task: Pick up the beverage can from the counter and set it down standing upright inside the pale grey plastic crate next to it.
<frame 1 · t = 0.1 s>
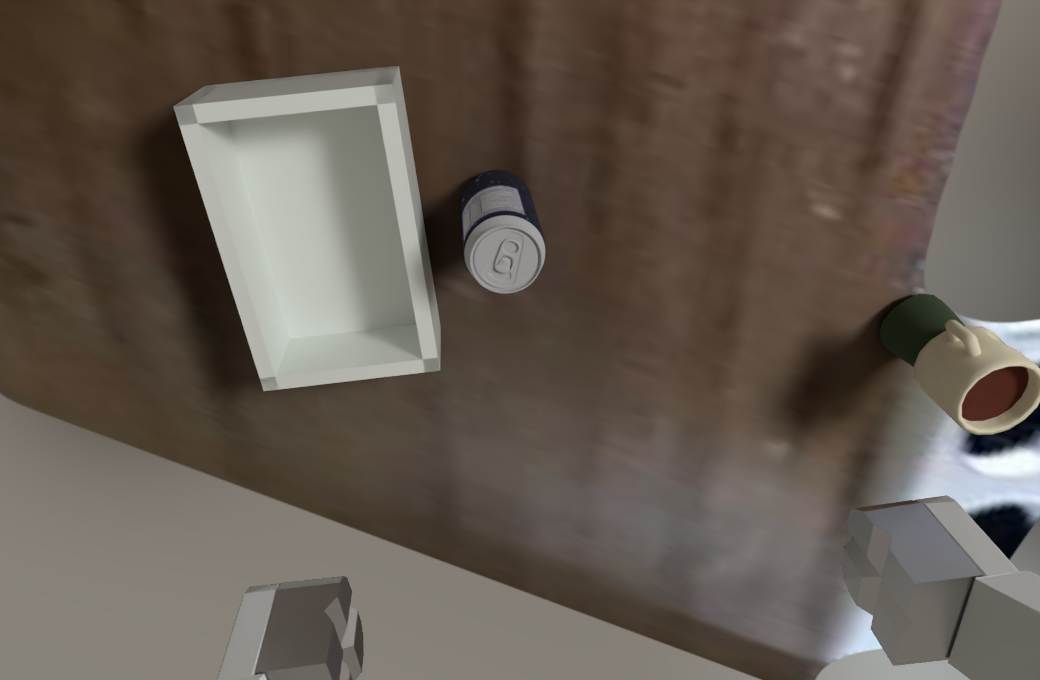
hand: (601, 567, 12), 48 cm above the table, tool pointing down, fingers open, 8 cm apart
beverage can: (495, 200, 58), on the table
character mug: (907, 319, 68), on the table
crate: (334, 219, 58), on the table
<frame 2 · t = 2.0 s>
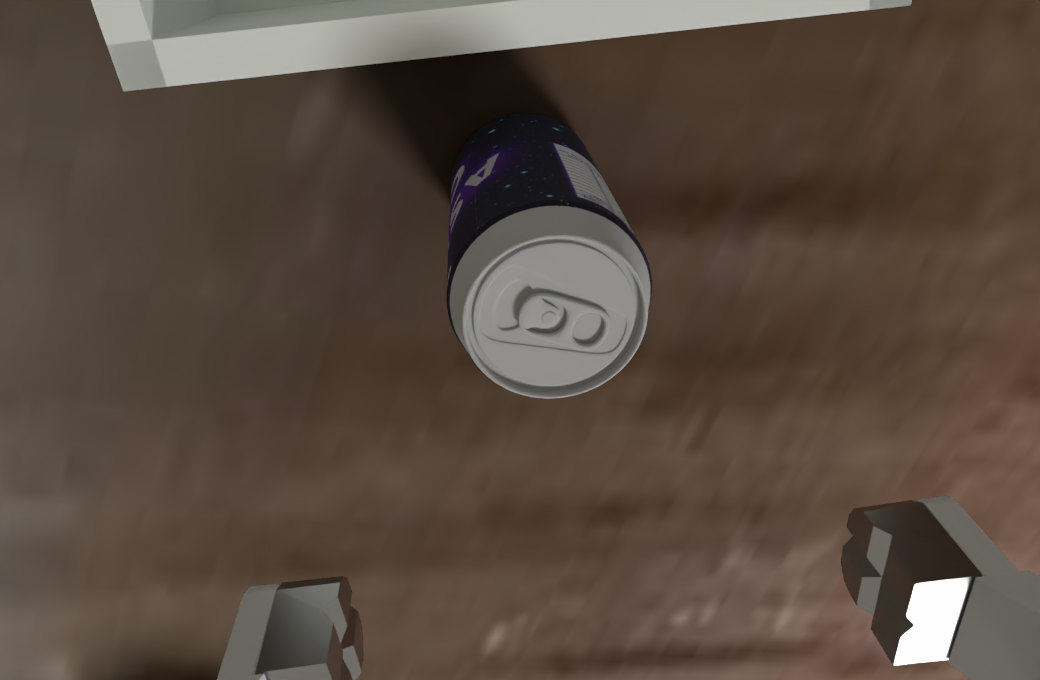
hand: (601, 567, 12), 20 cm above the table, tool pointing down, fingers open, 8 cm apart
beverage can: (521, 178, 29), on the table
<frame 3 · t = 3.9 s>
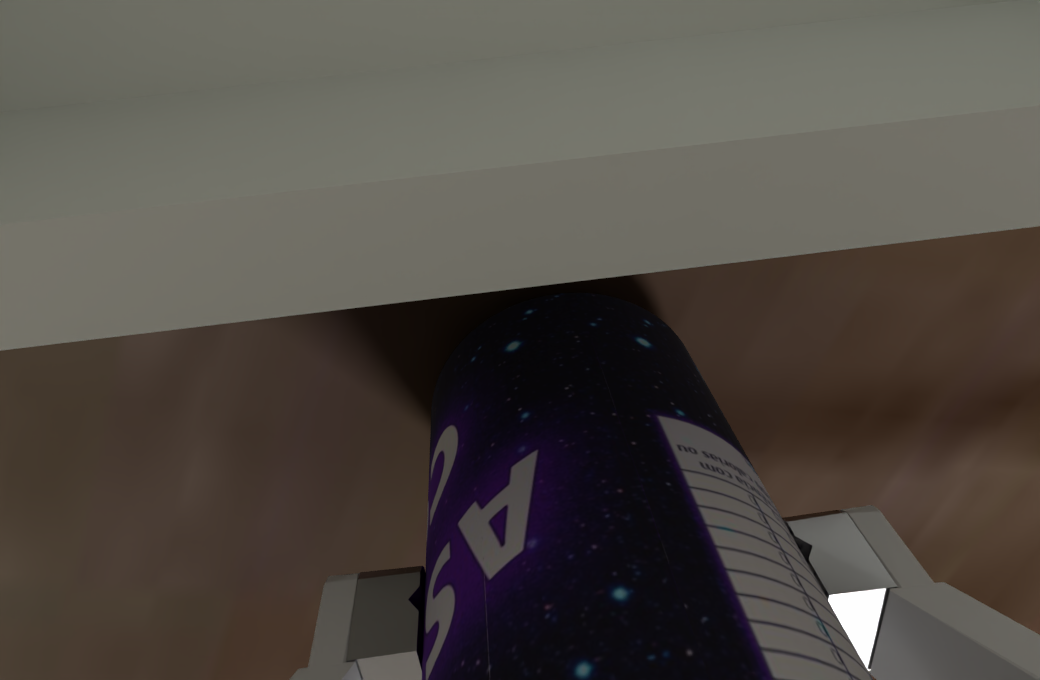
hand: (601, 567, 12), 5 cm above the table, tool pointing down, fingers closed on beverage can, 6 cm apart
beverage can: (559, 383, 16), on the table, touching gripper
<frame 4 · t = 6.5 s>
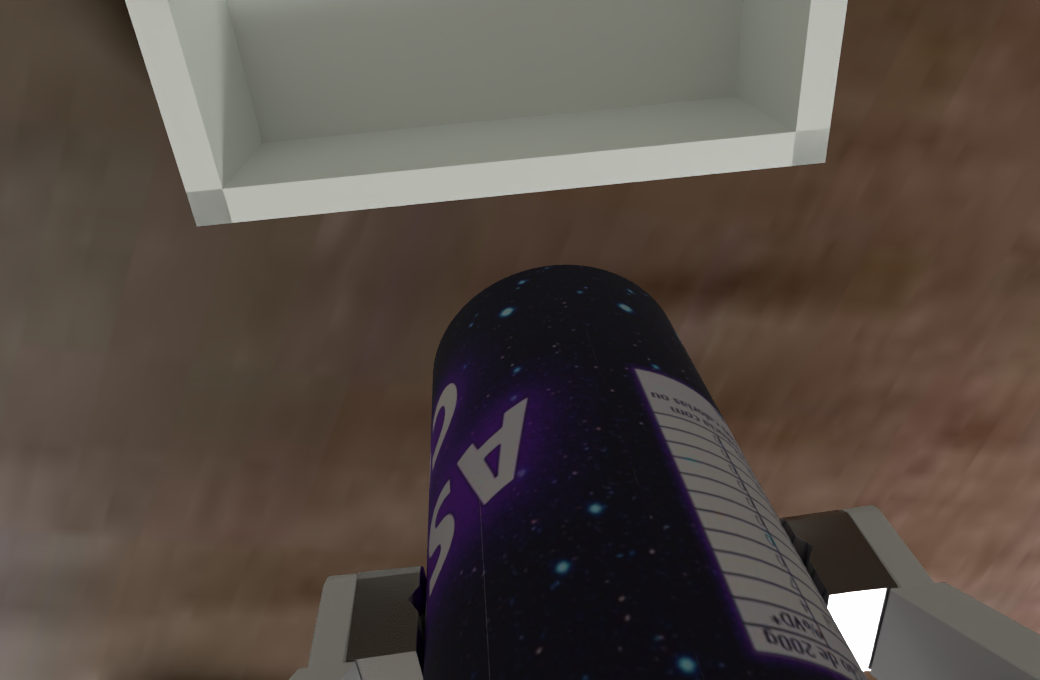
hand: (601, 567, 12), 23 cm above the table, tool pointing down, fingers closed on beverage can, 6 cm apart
beverage can: (551, 352, 18), point 16 cm above the table, touching gripper
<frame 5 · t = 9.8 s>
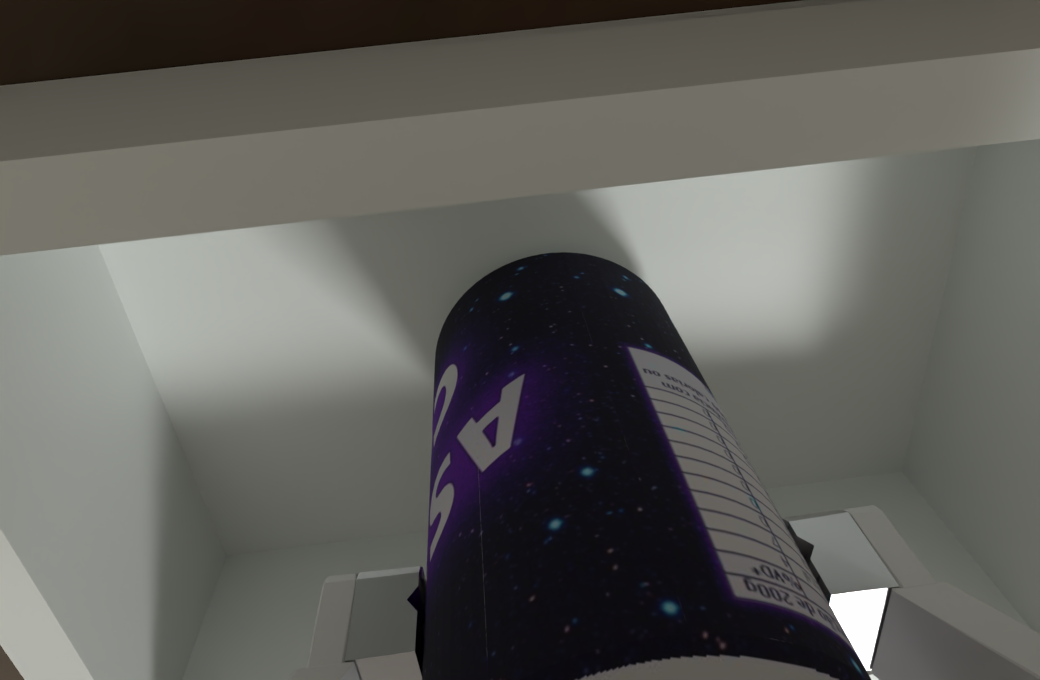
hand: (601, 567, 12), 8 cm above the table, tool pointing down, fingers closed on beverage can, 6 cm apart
beverage can: (550, 339, 18), point 1 cm above the table, touching crate, gripper
crate: (550, 320, 19), on the table
when the fingers open (8 cm above the table, at t = 10.9 s): beverage can stays where it is, resting on crate.
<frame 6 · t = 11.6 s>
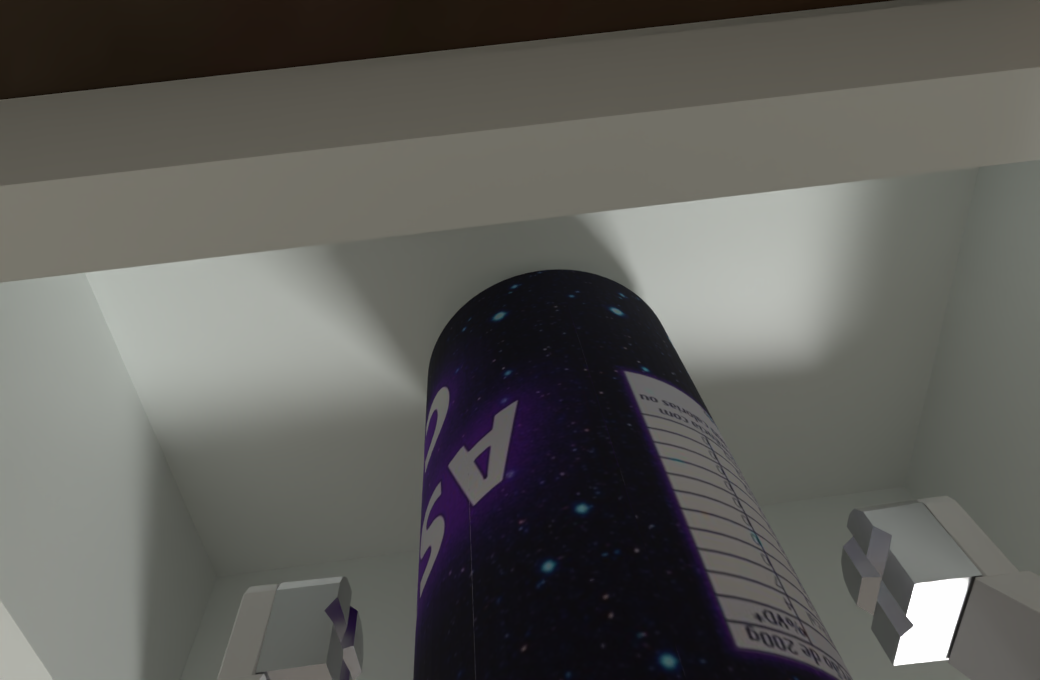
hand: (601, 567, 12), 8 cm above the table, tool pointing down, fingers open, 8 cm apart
beverage can: (545, 356, 18), point 1 cm above the table, touching crate
crate: (546, 336, 18), on the table
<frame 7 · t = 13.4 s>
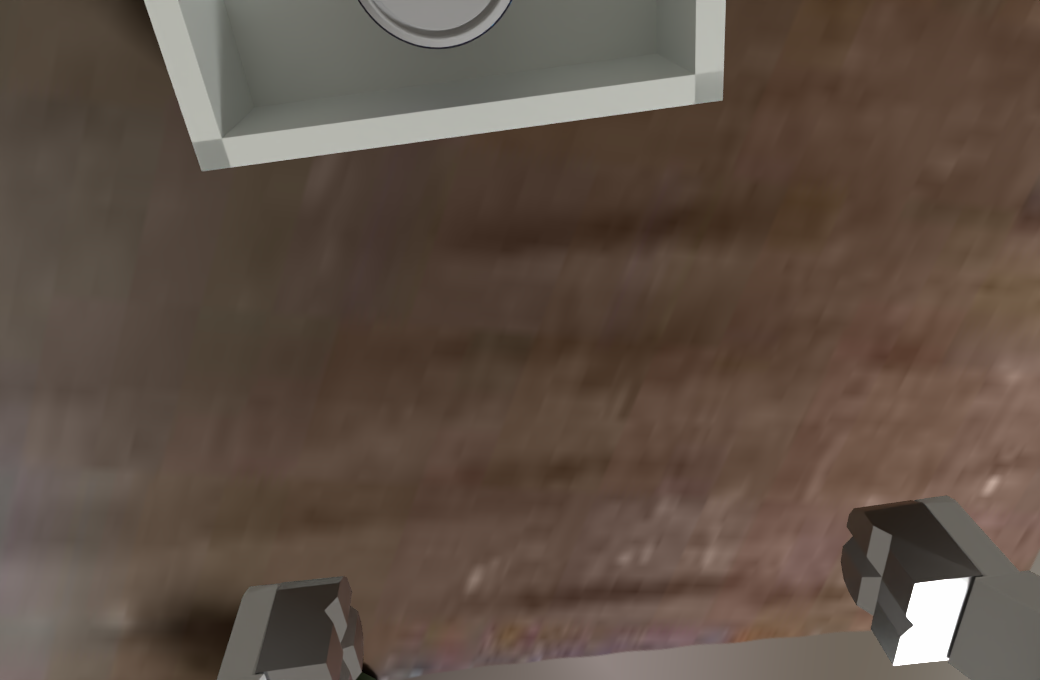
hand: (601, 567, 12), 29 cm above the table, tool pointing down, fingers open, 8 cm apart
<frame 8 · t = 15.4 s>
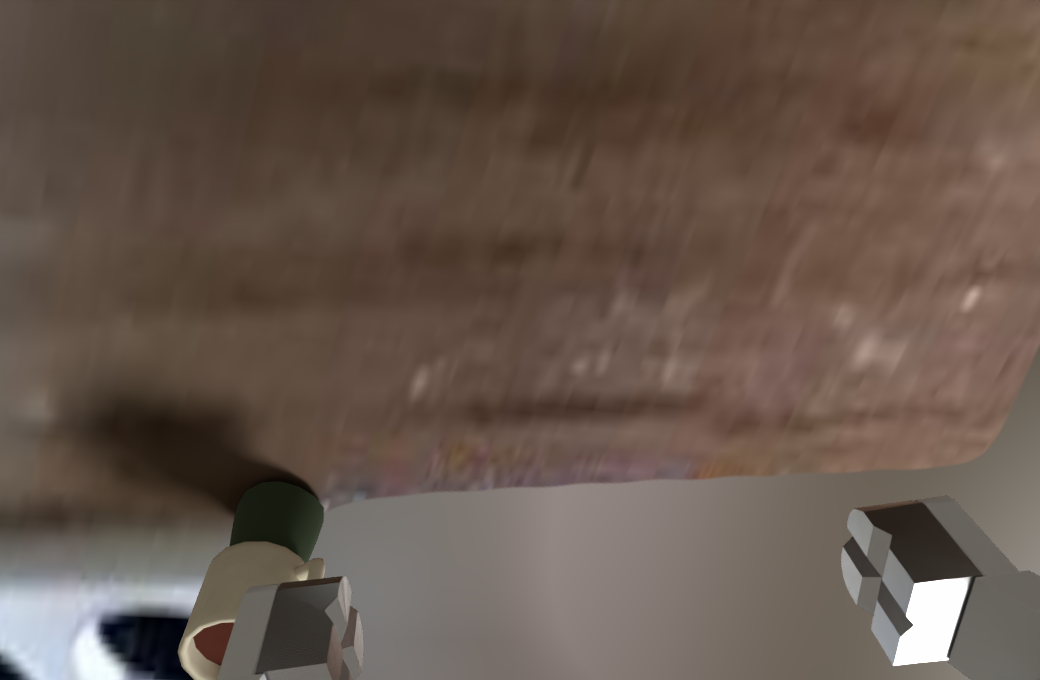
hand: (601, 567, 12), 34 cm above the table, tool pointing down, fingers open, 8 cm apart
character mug: (283, 505, 55), on the table
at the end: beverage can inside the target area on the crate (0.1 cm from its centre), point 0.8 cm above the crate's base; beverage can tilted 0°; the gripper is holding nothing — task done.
